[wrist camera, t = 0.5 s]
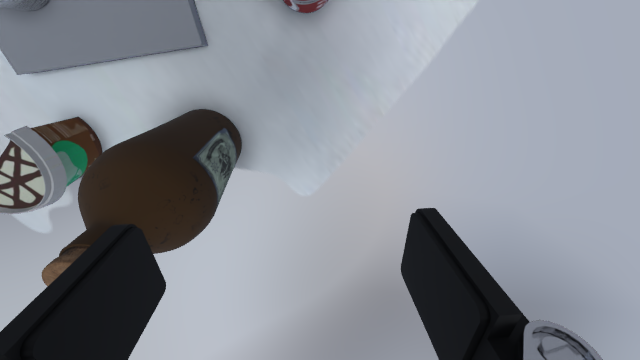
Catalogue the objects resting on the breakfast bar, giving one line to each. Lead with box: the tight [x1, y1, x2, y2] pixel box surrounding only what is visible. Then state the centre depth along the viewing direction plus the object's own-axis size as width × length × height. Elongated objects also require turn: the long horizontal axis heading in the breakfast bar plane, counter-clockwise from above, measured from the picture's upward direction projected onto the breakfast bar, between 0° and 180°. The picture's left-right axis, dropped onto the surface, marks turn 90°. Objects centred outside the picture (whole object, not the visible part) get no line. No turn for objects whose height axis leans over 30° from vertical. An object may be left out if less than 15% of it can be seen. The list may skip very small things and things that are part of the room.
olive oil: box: [42, 109, 241, 286], centre depth 26 cm, size 11×11×25 cm
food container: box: [0, 117, 102, 214], centre depth 32 cm, size 12×6×10 cm, turn 132°
